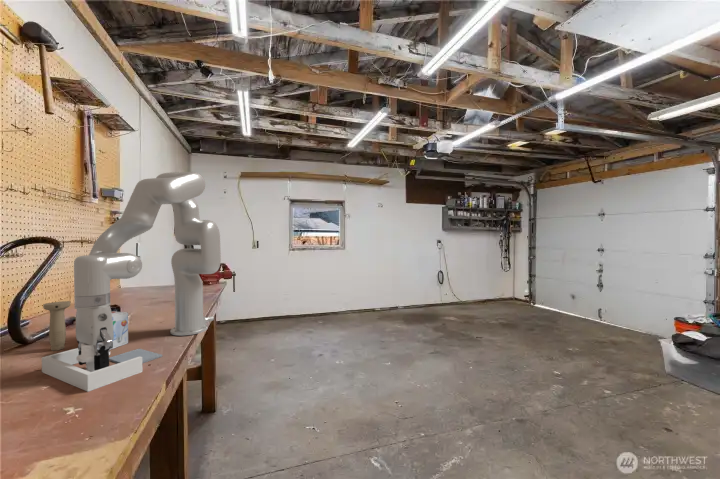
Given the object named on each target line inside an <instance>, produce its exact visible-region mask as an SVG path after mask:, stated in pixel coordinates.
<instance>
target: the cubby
mask: <svg viewBox="0 0 720 479" xmlns="http://www.w3.org/2000/svg"><path fill="white" fill-rule="evenodd" d="M77 356H79V350H78V347H77V348H72V349H69V350H65V351H61V352H58V353H54V354H53V353H52V354H50V355H46V356H42V357H41V373H43V374H46V375H48V376H50V377H52V378H54V379H57V380H59V381H61V382H64V383H67V384H69V385H71V386H73V387H76V388H78V389H80V390H83V391H85V392H87V393H88V392H91V391H93V390H94V391H95V390H96V389H100V388H102V387H105V386H107V385H110V384H113V383H115V382H118V381H121V380H123V379H127V378H129V377H132V376H134V375H137V374H138V375H139V374H140V373H143V363H142V357H136V358H133V359H130V360H127V361H124V362H121V363H115V364H112V365H109V367H105V368H102V369H99V370H96V371H93V372H89V371H87V370H86V369H83V368H80V367H78V366H76V364H79V361H77V360H76V357H77Z"/></svg>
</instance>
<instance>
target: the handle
mask: <svg viewBox="0 0 720 479" xmlns="http://www.w3.org/2000/svg"><path fill="white" fill-rule="evenodd" d="M70 306H71V301H69V300H67V301H66V300H65V301H54V302H47V303H44V304H42V307H43V310H46V311H49V329H48V338H49V344H50V351H51V352H52V351H61V350H63V349H65V343H66V338H67V329H66V319H65V318H66V317H65V309H67V308H69V307H70Z"/></svg>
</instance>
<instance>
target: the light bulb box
mask: <svg viewBox="0 0 720 479" xmlns="http://www.w3.org/2000/svg"><path fill="white" fill-rule="evenodd" d="M111 312H112V319H113V331H114V339H113V341H112V344H111V347H110V350H114V349H117V348H119V347H122V346H125V345H127V344H129V312H127V311H115V310H113V311H112V310H111Z"/></svg>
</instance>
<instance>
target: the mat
mask: <svg viewBox="0 0 720 479" xmlns="http://www.w3.org/2000/svg"><path fill="white" fill-rule="evenodd" d="M136 357H142V364H145V363H147V362H151V361H153V360H156V359H158V358H162V357H163V354H161V353H157V352H153V351H150V350H147V349H143V348H136V349H134V350H129V351H126V352H123V353H120V354H116V355H114V356H109V362H112V363H115V364H118V363H121V362H124V361H127V360H130V359H133V358H136Z"/></svg>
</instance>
